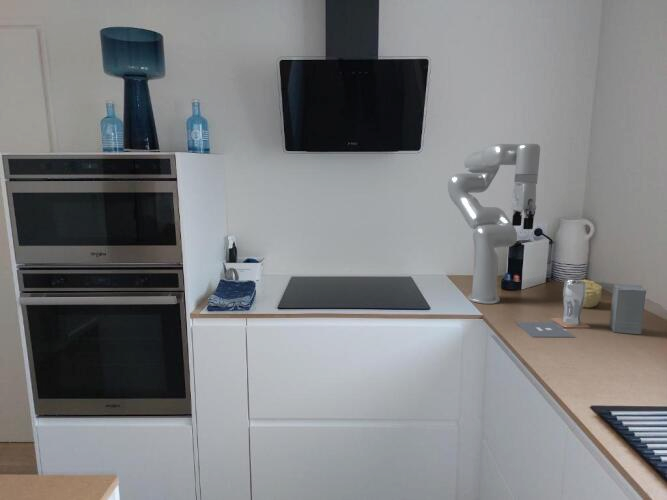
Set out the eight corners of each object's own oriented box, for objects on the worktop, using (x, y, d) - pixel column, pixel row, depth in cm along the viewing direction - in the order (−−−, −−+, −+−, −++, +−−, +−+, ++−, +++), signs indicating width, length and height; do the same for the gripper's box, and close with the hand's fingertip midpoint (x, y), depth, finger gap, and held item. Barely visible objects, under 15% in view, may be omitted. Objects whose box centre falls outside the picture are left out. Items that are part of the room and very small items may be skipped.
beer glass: (585, 326, 155) (590, 284, 152) (563, 325, 156) (567, 283, 154) (578, 320, 162) (582, 279, 159) (557, 319, 163) (561, 278, 160)
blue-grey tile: (515, 322, 161) (515, 322, 161) (554, 322, 161) (554, 322, 161) (532, 337, 147) (532, 336, 147) (575, 337, 147) (575, 336, 147)
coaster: (550, 319, 164) (551, 317, 164) (575, 319, 164) (575, 318, 164) (563, 328, 155) (563, 326, 155) (589, 328, 155) (589, 326, 155)
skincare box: (635, 329, 155) (641, 284, 152) (641, 336, 148) (648, 289, 146) (607, 326, 158) (612, 282, 155) (612, 333, 151) (618, 287, 148)
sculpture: (568, 307, 178) (571, 281, 176) (565, 299, 189) (568, 274, 187) (601, 311, 174) (604, 284, 172) (596, 303, 185) (599, 277, 183)
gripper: (506, 178, 168) (502, 224, 171) (525, 180, 151) (521, 230, 154) (526, 178, 168) (522, 224, 171) (548, 180, 151) (543, 230, 154)
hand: (521, 227), depth 163 cm, fingers open, 9 cm apart
